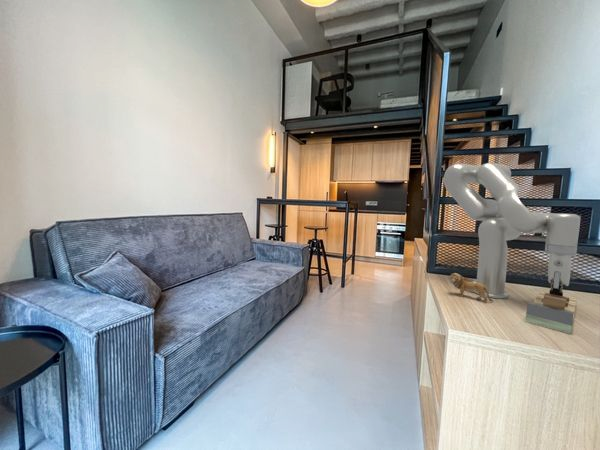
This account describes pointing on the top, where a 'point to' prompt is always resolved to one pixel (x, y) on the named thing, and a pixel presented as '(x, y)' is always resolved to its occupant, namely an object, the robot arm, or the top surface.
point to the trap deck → (569, 307)
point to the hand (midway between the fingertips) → (555, 302)
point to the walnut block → (554, 301)
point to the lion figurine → (468, 286)
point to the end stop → (550, 313)
